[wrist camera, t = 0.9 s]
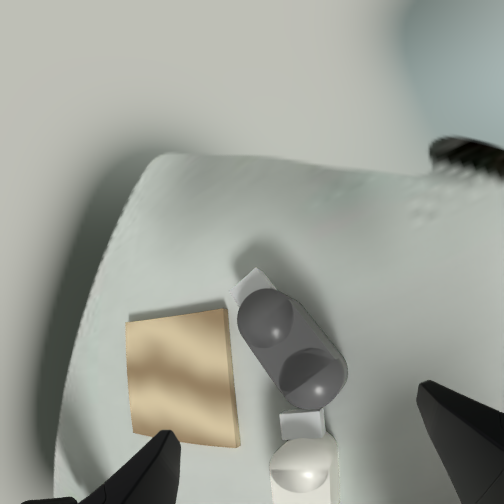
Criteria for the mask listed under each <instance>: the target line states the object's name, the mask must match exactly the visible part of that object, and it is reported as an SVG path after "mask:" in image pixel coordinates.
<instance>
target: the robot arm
mask: <svg viewBox="0 0 504 504" xmlns="http://www.w3.org/2000/svg"><path fill="white" fill-rule="evenodd" d="M416 401H417V405H418V408H419V410H420V413H421V416H422V418H423V421H424V424H425V426H426V429H427V432H428V434H429V436H430V438H431V440H432V442H433V444H434V446H435V448H436V450H437V452H438V454H439V456H440V458H441V460H442V462H443V464H444V466H445V468H446V470H447V472H448V475H449V477H450V479H451V481H452V483H453V485H454V487H455V490H456V492H457V494H458V496H459V498H460V501H461V503H462V504H504V413H502V412H499V411H498V410H495V409H493V408H491V407H488V406H486V405H484V404H482V403H479V402H477V401H475V400H473V399H470V398H468V397H466V396H464V395H462V394H459V393H457V392H455V391H453V390H451V389H449V388H446V387H444V386H442V385H440V384H438V383H436V382H434V381H431V380H427V381H424V382H422V383H420V384H419V387H418V393H417V398H416ZM180 456H181V445H180V442H179V440H178V439H177V437H176V435H175V434H174V432H173V431H172V430H160V431H159V432H158V433H157V434H156V435H155V436H154V437H153V438H152V439H151V440H150V441H149V442H148V443H147V444H146V445H145V446H144V447H143V448H142V449H141V450H139V451H138V452H137V453H136V454H135V455H134V456H133V457H132V458H131V459H130V460H129V461H128V462H127V463H126V464H125V465H123V466H122V467H121V468H120V469H119V470H118V471H117V472H116V473H115V474H114V475H112V476H111V477H110V478H109V479H108V480H107V481H106V482H105V483H104V484H102V485H101V486H100V487H99V488H98V489H96V490H95V491H94V492H93V493H92V494H90V495H89V496H88V497H86V498H85V499H83V500H82V501H81V502H79V503H78V504H175V503H176V497H177V491H178V486H179V477H180Z"/></svg>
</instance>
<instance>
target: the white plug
mask: <svg viewBox="0 0 504 504" xmlns="http://www.w3.org/2000/svg"><path fill="white" fill-rule="evenodd" d="M279 416H280V426H281V436H282V440H288V441H287V442H286V443H285V444H284V445H283V446H282V447H281V448H280V449H278V450H277V451H276V452H275V453H274V455H273V456H272V458H271V460H270V465H269V470H270V479H271V489H272V498H273V504H339V503H340V477H339V457H338V445H337V442H336V440H335V439H334V437H333V436H332V435H331V434H329V433H328V432H326V431H325V419H324V408H323V407H321V408H318V409H310V410H308V409H296V410H285V411H284V412H282V413H280V414H279Z"/></svg>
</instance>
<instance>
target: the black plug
mask: <svg viewBox="0 0 504 504" xmlns="http://www.w3.org/2000/svg"><path fill="white" fill-rule="evenodd" d="M229 293H230V294H231V296H232V297H233V299H234V300H235V302H236V303H237V305H238V306H239V307H240V308H239V311H238V316H237V323H238V328H239V331H240V333H241V335H242V337H243V338H244V340H245V341H246V343H247V344H248V346H249V347H250V349H251V350H252V352H253V353H254V355H255V356H256V357H257V359H258V360H259V362H260V363H261V365H262V366H263V368H264V369H265V370H266V372H267V373H268V375H269V376H270V378H271V379H272V380H273V382H274V383H275V385H276V386H277V387H278V389H279V390H280V392H281V393H282V394H283V396H284V397H285V398H286V399H287V401H289V402H290V403H291V404H292V405H294V406H296V407H298V408H302V409H308V410H310V409H318V408H321V407H323V406H325V405H327V404H328V403H330V402H331V401H332V400H333V399H334V398H335V397H336V395H337V394H338V393H339V392H340V390H341V389H342V388H343V386H344V385H345V383H346V380H347V377H348V368H347V364H346V361H345V359H344V358H343V356H342V355H341V354H340V353H339V351H338V350H337V349H336V348H335V346H334V345H333V344H332V343H331V341H330V340H329V339H328V337H327V336H326V335H325V334H324V332H323V331H322V330H321V329H320V327H319V326H318V325H317V324H316V322H315V321H314V320H313V319H312V317H311V316H310V315H309V313H308V312H307V311H306V310H305V308H304V307H303V306H302V305H301V304H300V303H299V302H297V301H296V300H294V299H292V298H290V297H288V296H287V295H285V294H283V293H281V292H279V291H278V290H277V289H276V288H275V286H274V285H273V284H272V283H271V281H270V280H269V279H268V277H267V276H266V275H265V273H264V272H263V271H261V270H260V269H258V268H257V267H255V268H254V269H253V270H252V271H251V272H250V273H249V274H247V275H246V276H245V277H244V278H243V279H242V280H241V281H240V282H238V283H237V284H236V285H235V286H234V287H233V288H232V289H230V290H229Z"/></svg>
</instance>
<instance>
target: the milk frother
mask: <svg viewBox="0 0 504 504" xmlns="http://www.w3.org/2000/svg"><path fill="white" fill-rule="evenodd" d="M21 504H78V503H77V501H76V500H75V499H74V498H73V497H63V498H53V499H41V500H28V501H25V502H23V503H21Z"/></svg>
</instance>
